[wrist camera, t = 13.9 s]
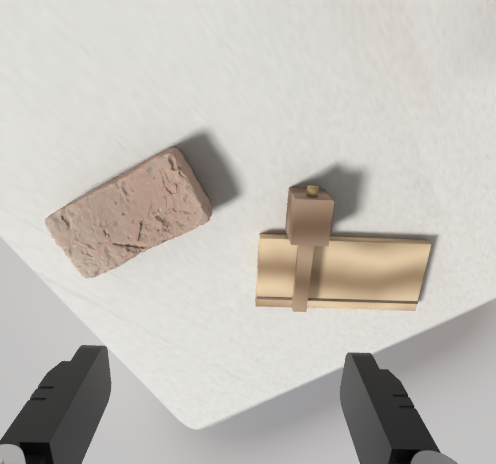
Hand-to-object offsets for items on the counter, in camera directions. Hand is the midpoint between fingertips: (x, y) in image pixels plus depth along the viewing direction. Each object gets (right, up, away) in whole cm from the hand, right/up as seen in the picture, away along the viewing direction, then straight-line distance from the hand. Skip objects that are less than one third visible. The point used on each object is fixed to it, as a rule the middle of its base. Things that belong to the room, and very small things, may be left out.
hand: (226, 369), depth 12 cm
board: (+12, 0, +33) cm, 35 cm away
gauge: (+7, +3, +31) cm, 32 cm away
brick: (-12, +7, +30) cm, 33 cm away
